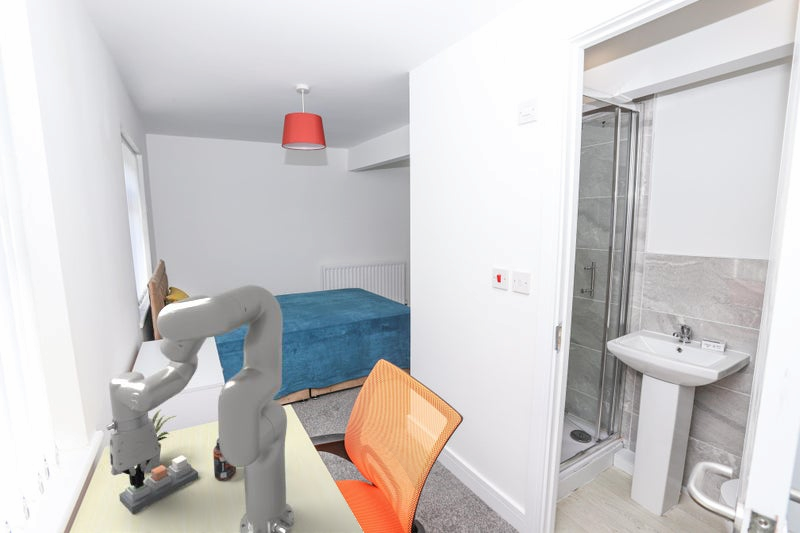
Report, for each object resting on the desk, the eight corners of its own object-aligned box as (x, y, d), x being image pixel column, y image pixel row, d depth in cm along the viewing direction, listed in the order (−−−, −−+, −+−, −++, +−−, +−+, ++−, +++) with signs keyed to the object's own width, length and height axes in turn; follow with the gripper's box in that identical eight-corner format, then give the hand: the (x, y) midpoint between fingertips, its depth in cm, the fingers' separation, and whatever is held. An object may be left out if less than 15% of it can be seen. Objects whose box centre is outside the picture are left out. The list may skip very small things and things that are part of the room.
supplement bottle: (228, 483, 113) (226, 446, 112) (210, 480, 115) (207, 444, 113) (240, 469, 119) (238, 434, 117) (223, 467, 120) (221, 432, 119)
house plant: (178, 445, 131) (174, 399, 128) (182, 469, 119) (178, 418, 117) (126, 460, 123) (121, 411, 120) (125, 486, 111) (119, 433, 109)
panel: (198, 478, 115) (197, 465, 115) (132, 514, 102) (131, 500, 101) (184, 467, 120) (183, 455, 119) (119, 500, 106) (118, 487, 106)
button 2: (167, 476, 111) (166, 468, 110) (156, 482, 108) (155, 474, 108) (162, 472, 112) (162, 464, 112) (152, 478, 110) (151, 470, 109)
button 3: (187, 466, 115) (186, 458, 115) (177, 471, 113) (176, 463, 112) (182, 462, 117) (182, 455, 116) (172, 467, 114) (172, 460, 114)
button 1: (146, 493, 106) (145, 484, 106) (134, 499, 104) (133, 490, 104) (141, 488, 108) (140, 480, 108) (130, 494, 106) (129, 486, 105)
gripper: (102, 439, 95) (110, 508, 97) (168, 413, 107) (174, 475, 109) (91, 429, 99) (99, 495, 102) (155, 405, 111) (161, 465, 114)
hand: (137, 484), depth 106 cm, fingers closed
